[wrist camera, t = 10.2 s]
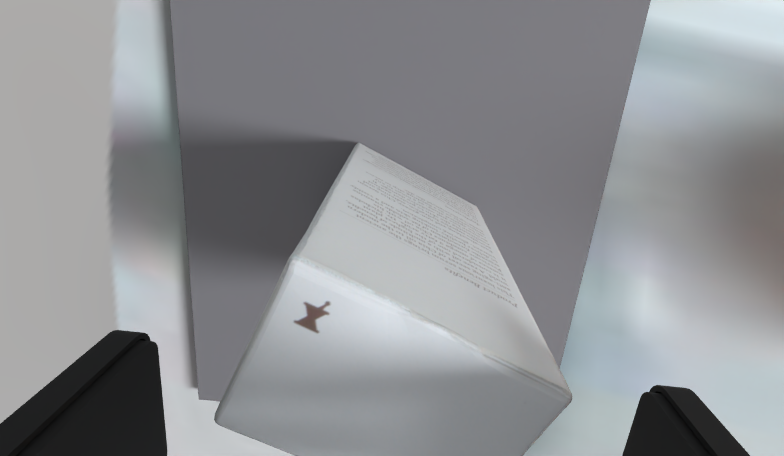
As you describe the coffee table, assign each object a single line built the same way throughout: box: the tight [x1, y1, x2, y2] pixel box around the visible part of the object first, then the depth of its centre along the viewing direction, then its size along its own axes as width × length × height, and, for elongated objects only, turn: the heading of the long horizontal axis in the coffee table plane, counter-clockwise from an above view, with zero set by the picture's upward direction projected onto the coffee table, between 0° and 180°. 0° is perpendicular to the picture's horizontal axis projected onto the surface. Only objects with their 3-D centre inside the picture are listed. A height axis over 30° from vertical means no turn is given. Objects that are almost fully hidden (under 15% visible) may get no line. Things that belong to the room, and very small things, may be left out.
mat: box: [170, 0, 651, 401], centre depth 20 cm, size 22×18×1 cm
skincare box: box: [214, 143, 572, 456], centre depth 14 cm, size 6×4×12 cm
